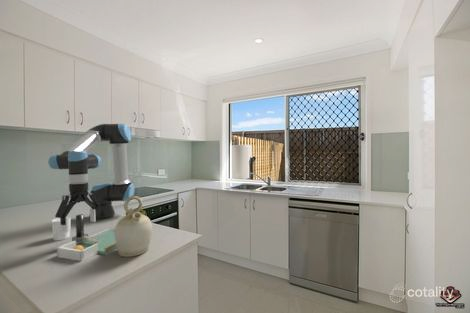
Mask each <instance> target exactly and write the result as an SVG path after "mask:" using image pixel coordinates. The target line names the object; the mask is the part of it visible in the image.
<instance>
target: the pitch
mask: <svg viewBox="0 0 470 313" xmlns="http://www.w3.org/2000/svg"><path fill="white" fill-rule="evenodd" d="M114 233H115V229H112V228H111V227H110V228H107V229H106V228H105V229H104V230H102V231H99V232H97V233H93V234H91V235H90V236H91V237H99V238H100V243H99V244H98V253H97V254H99V255H108V254H110V253H112V252H114V251H115V250H118V249H117V245H116V241H115V235H114ZM78 245H81V246H83V248H84V249H86V248H88V247H90V246H92V245H95V244H93V243H86V242H81V241H80V242H76V246H78Z"/></svg>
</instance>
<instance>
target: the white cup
mask: <svg viewBox="0 0 470 313" xmlns="http://www.w3.org/2000/svg"><path fill="white" fill-rule="evenodd" d="M67 217H68V227H69V231H68V232H63V230H62V225H61V220H60V218H57V217H56V218H53V219H52V220H51V229H52V230H51V231H52V237H53V238H52V239H53V241H63V240H66V239H69V238H70V237H71V226H72V225H71V222H72V221H71V220H72V217H70V216H67Z"/></svg>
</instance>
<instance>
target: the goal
mask: <svg viewBox="0 0 470 313" xmlns="http://www.w3.org/2000/svg"><path fill="white" fill-rule="evenodd" d="M74 247H76V241H72V240H71V241H70V242H67V243H65V244H62V245H61V246H57V248H56V257H57V258H59V259H60V258H62V259H68V260H72V261H77V262H83V261H85V260H87V259H89V258H91V257H93V256H95V255H97V254H99V253H98V244H95V245H92V246H90V247H88V248H86V249H84V250H77V249H73V248H74Z"/></svg>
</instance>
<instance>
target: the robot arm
mask: <svg viewBox="0 0 470 313" xmlns="http://www.w3.org/2000/svg"><path fill="white" fill-rule="evenodd" d="M131 140H132V131H131V129H130V127H129V125H128V124H124V123H101V124H98V125H95V126H93V127H91V128H90V129H88V130H87V131H85V133H84V135H83V136H82V137H80V138H79V139H78V140H77V141H76V142H73V144H72V145H70V146H69V147H68V148H67V149H66V150H64V151H63V152H62V153H60V154H53V155H50V156H49V159H48V165H49V168H51V169H53V170H68V183H69V184H68V191H69V194H67V195H65V194H63V195H62V198H61V202H60V205H59V207H58V209H57V211H56V213H55V215H54V216H55V218H56V219H57V218H60V220H61V225H62V230H63V232H68V231H69V227H68V217H69V216H68V215H69V213H70V212H71V210H72V209H73V208H74V206H75V205H76V204H77V203H81V202H82V203H83V202H84V203H85V204H87V205H88V206H89V207H90V208H89V220H90V222H89V223H96V220H104V219H109V218H113V217H115V209H114V206H113V203H112V202H125V201H126V199H127V198H129V197H131V196H135V188H136V187H135V185H134V184H133V183H132V181H131V180H130V178H129V167H128V166H129V165H128V154H127V152H128V151H127V150H128V149H127V146H128V145H129V142H130V141H131ZM100 142H109V145H110V146H111V148H112V160H113V173H114V174H113V175H114V177H113V178H114V181H113V182H103V183H99V184H94V185H92V187H91V189H89V172H88V170H90V169H91V170H92V169H97V168H98V167H100V166H101V165H102V158H101V157H100V155H97V154H94V153H92V154H91V153H90V154H88V151H89V150H90V149H92V147H93V146H95V145H96V144H97V145H98V144H99V143H100Z"/></svg>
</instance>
